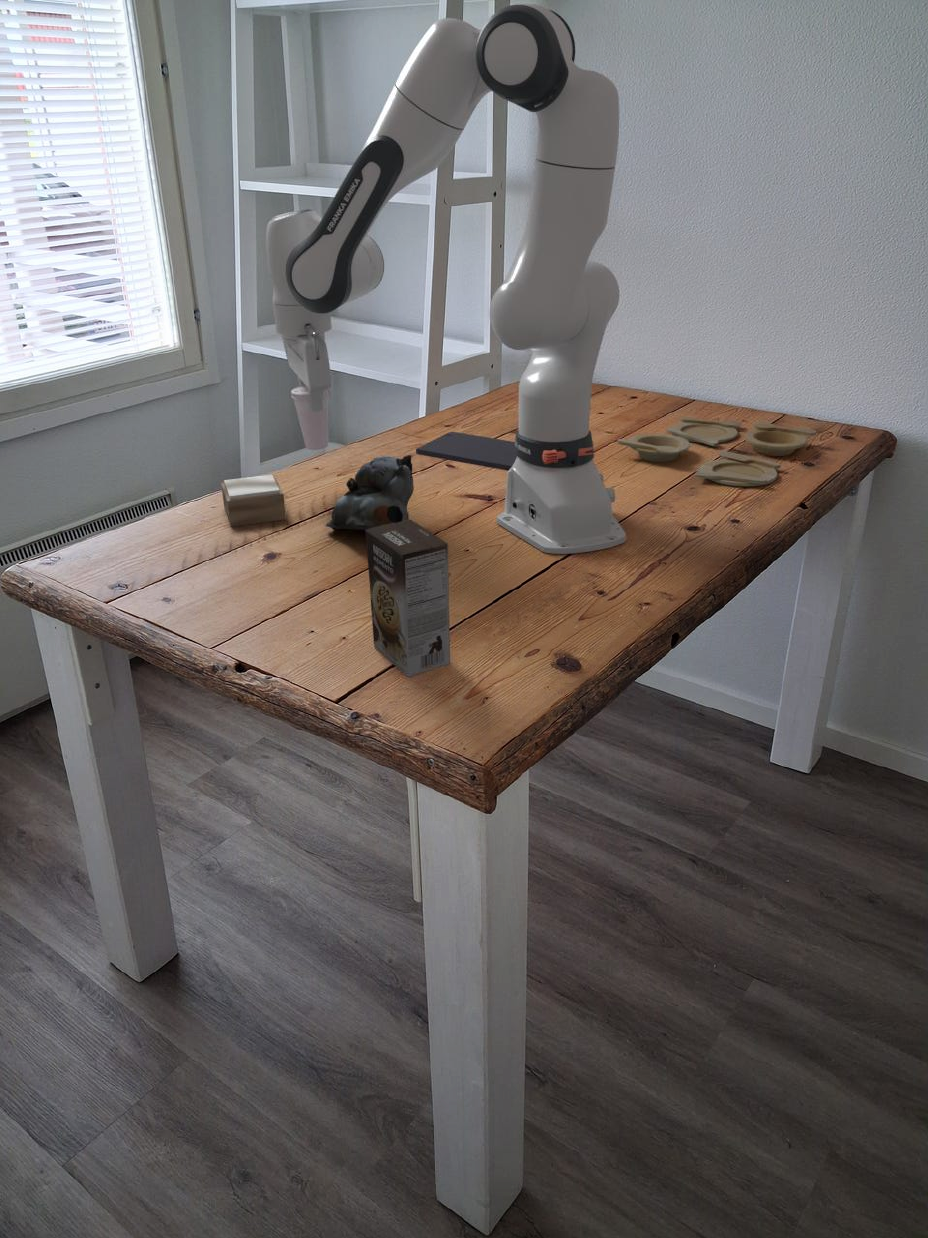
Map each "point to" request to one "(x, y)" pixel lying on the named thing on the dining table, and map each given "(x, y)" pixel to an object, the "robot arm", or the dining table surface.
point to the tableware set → (724, 470)
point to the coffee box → (409, 596)
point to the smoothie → (312, 418)
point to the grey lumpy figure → (375, 495)
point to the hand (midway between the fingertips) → (312, 405)
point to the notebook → (471, 450)
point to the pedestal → (253, 500)
